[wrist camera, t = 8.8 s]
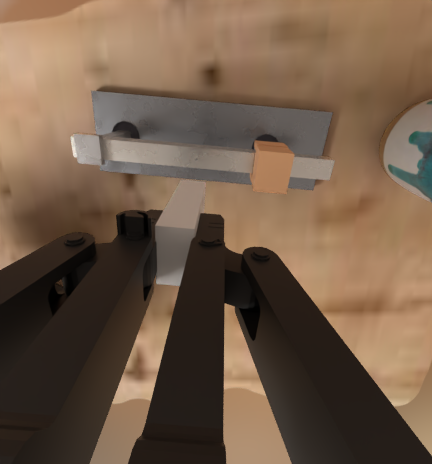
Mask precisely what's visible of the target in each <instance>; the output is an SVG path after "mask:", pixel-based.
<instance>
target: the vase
mask: <svg viewBox="0 0 432 464" xmlns="http://www.w3.org/2000/svg"><path fill="white" fill-rule="evenodd" d="M379 158H380V162H381V165H382V167H383V169H384V171H385V172H386V174H387V175H388V176H389V177H390V178H391V179H392V180H394V181H395V182H396V183H398V184H399V185H401V186H402V187H404V188H405V189H407V190H408V191H410V192H412V193H413V194H415V195H417V196H419V197H421V198H423V199H425V200H427V201H429V202H431V203H432V99H428V100H425V101H422V102H419V103H417V104H414V105H412V106H411V107H409V108H407V109H406V110H404V111H403V112H402V113H400V114H399V115H398V116H397V117H396V118H395V119H394V120H393V121H392V122H391V123H390V124H389V126H388V127H387V129H386V130H385V132H384V134H383V136H382V139H381V142H380V147H379Z"/></svg>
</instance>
